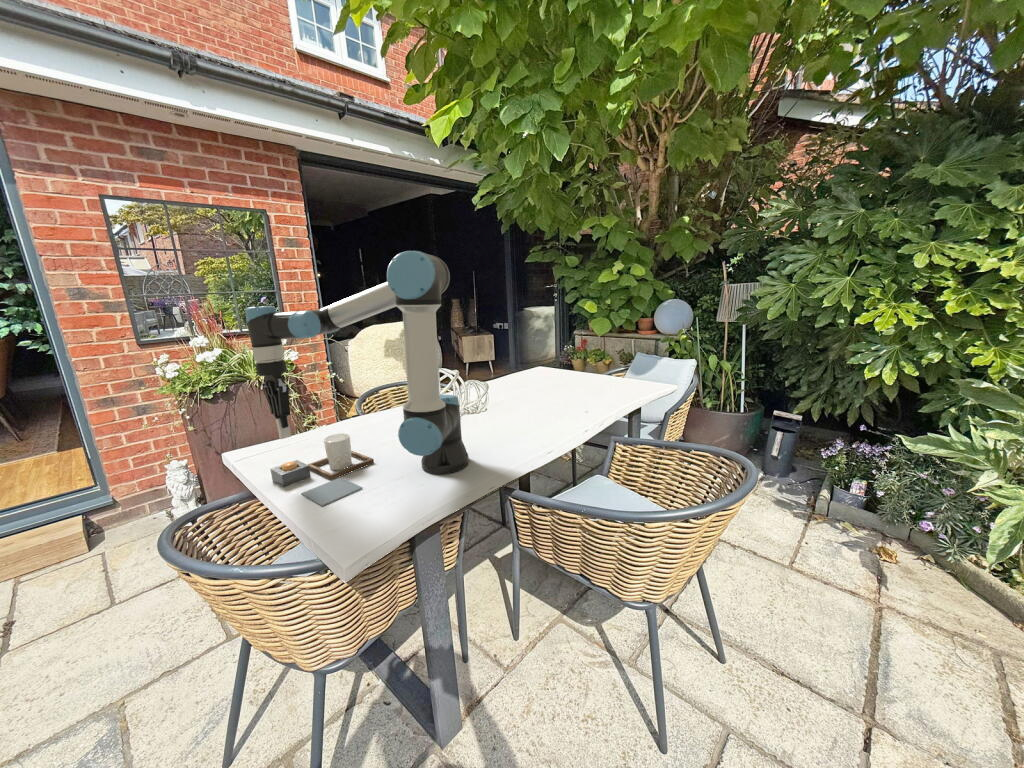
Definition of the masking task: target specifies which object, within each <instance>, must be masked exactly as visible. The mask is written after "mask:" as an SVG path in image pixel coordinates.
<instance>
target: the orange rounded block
mask: <svg viewBox="0 0 1024 768" xmlns="http://www.w3.org/2000/svg"><path fill="white" fill-rule="evenodd" d="M294 461H295V460H293V461H287V462H285V463H284V462H283V464H281V465H282V470H283V471H285V472H286V471H289V470H292V469H294V468H297V463H296V462H294Z"/></svg>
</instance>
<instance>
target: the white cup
mask: <svg viewBox="0 0 1024 768" xmlns="http://www.w3.org/2000/svg"><path fill="white" fill-rule="evenodd" d="M323 444H324V448H325V453H326V458H328V461H329V463H328V465H329V469H330V470H332V471H340V469H342V470H343V469H344V468H347V467H349V466H350V465H351V464H353V463H352V456H351V451H352V445H351V436H350V434H349V433H335V434H331V435H328V436H326V437H324V438H323ZM351 466H352V465H351Z"/></svg>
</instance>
